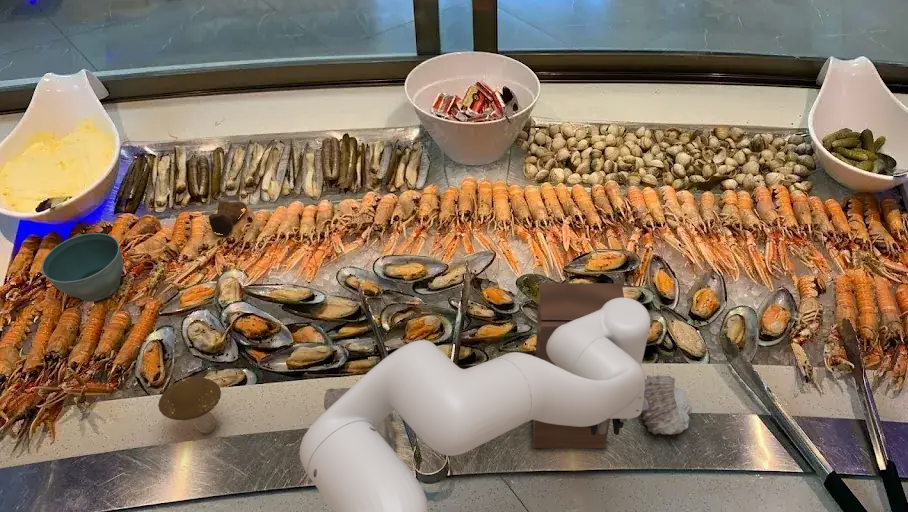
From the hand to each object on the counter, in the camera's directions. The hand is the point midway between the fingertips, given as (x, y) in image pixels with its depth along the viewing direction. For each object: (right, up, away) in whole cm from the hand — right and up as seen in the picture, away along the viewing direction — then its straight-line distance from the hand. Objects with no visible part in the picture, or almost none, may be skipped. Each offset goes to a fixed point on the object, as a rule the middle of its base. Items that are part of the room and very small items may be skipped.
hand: (604, 427), depth 115 cm
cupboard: (-5, -6, +20) cm, 21 cm away
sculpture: (-93, +35, +64) cm, 118 cm away
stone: (-46, -8, +17) cm, 50 cm away
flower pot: (-116, +20, +47) cm, 127 cm away
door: (-5, -11, +14) cm, 18 cm away
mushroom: (-78, -6, +19) cm, 80 cm away
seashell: (+15, -4, +22) cm, 27 cm away
